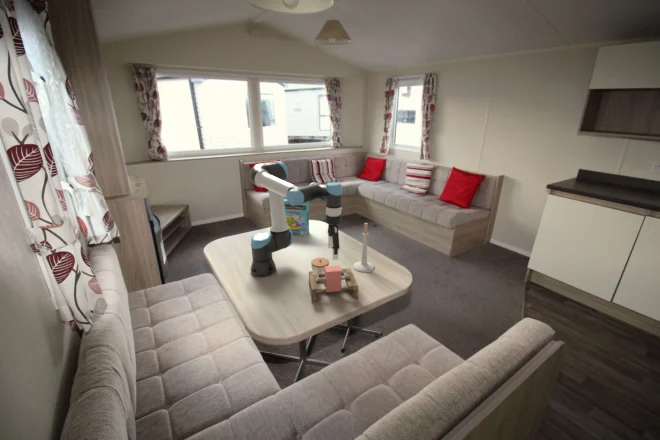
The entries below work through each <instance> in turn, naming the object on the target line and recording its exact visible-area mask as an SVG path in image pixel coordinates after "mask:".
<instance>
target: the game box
mask: <svg viewBox="0 0 660 440" xmlns="http://www.w3.org/2000/svg"><path fill="white" fill-rule="evenodd" d="M309 204H310V202H307V203H303V204H300V205H295V206H292V205H290V204H289V202H288V201H287V198H284V206H285V217H286V225H287V226H288V227H289V229H291V231H292V233H293V235H298V236H308V235H309V234H310V219H309V218H310V211H309V210H310V208H309V207H310V205H309Z"/></svg>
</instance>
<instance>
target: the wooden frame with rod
mask: <svg viewBox="0 0 660 440" xmlns="http://www.w3.org/2000/svg"><path fill="white" fill-rule="evenodd" d="M341 270H342V280H343V281H345V284H346V287H347V289H348V290H350V292H351V295H352V297H353V298H352V299H354V300H358V298H359V285H358V282H357V279H356V277H355V275H354V274H353V273H354V272H353V271H352V269H351V267H350V268H341ZM325 281H326V277H325V270H323V271H313V270H312V271H310V270H309V271H308V286H309V291H310V292H309V293H310V297H311V298H310V299H311V303H312V304H315V303H316V304H317V293H322V292H323V288H322V285H321V282H325Z"/></svg>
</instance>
